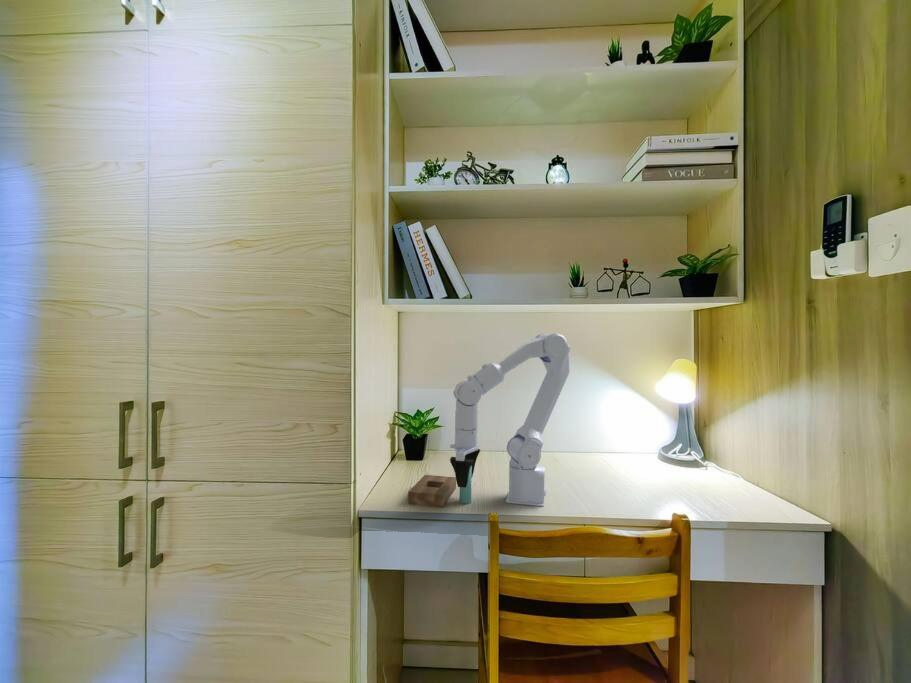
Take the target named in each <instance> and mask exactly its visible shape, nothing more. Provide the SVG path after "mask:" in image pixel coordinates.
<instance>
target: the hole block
mask: <svg viewBox="0 0 911 683" xmlns="http://www.w3.org/2000/svg"><path fill="white" fill-rule="evenodd" d="M456 489H457V481H456V476H447V475H446V476H444V475H432V474H424V475H423V476H422V477H421V478H420V479H419V480H418V481H417V482H416V483H415V484H414V485H413V486H412V487H411V489H409V490H408V492H407V493H408V497H407V500H408V501H407V503H408V504H410V505H416V506H417V505H418V506H427V507H437V508H444V507H445V506H446V504H447V502H448V500H450V498H451V496H452V495H453V494H454V492H455V490H456Z"/></svg>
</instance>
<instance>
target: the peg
mask: <svg viewBox="0 0 911 683" xmlns="http://www.w3.org/2000/svg"><path fill="white" fill-rule="evenodd" d="M472 478H473V476H472V466H471V468H470V471H469V477H468V483H467V486H466V488H464V487H459V494H458V495H459V502H458V503H460V504H462V505H469V504H472Z"/></svg>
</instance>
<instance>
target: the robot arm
mask: <svg viewBox="0 0 911 683" xmlns="http://www.w3.org/2000/svg"><path fill="white" fill-rule="evenodd" d="M570 352H571V346H570V345H569V342H568V340H567V338H566V337H565V336H564V335H562V334H561V333H559V332H558V333H557V332H555V333H554V332H553V333H540V334H537V335H536V336H535V337H534V338H533V337H532V338H530V339H529V340H527V341H526V342H525V343H523V344H522V345H520V346H519V347H518V348H516V349H515V350H513V351H512V352H511V353H510V354H508V355H507V356H506V357H505V358H503V359H501V361H499V362H498V363H494V362H490V363H483V364H482V365H481V369H479V370H478V371H476V372H475V373H473V374H472V375H471V374H468V375H467V376H466V378H467V380H461V381H459V382H458V383H457V384H456V386H455V388H454V390H453V395H454V398H455V399H456V400H455V412H454V413H455V414H454V415H455V416H454V417H455V418H454V443H451V444H450V445H449V448H450V449H453V450H454V452H455V456H451V457H450V458H449V461H450V464H451V466H452V468H453V471H454V474H455V476H454V477H456V487H458V488H460V487H464V488H466V486H467V483H468V477H469V471H470V468H471V466H472V477H473V476H474V472H475V466H476V462H477V459H478V456H479V454H480V452H481V449H480V448H479V445H478V433H479V432H478V425H479V424H478V422H479V421H478V419H479V418H478V417H479V410H478V408H479V406H478V404H479V402H480V400H481V399H482V396H484V395H485V394H487V393H488V392H490V391H491V390H492V389H494V388H496V387H497V386H499V385H500V384H501V383H503V382H504V379H505V375H506V374H507V373H509V372H510V371H512V370H514V369H515V368H517V367H518V366H519V365H522V364H523V363H524V362H527V361H528V360H529V359H533V358H535V359H536V358H539V359H540V360H541V361H542V363H543V365H544V368H545V370H546V374H545V376H544V378H543V380H542V383H541V385H540V388H539V389H538V391H537V394H536V396H535V397H534V400H533V403H532V404H531V406H530V409H529V411H528V414H527V416H526V418H525V421H524V423H523V425H521V426H520V427H519V428H518V429H517V430H516V432H515V434H514V435H513V436H512V437H511V438H510V439H509V440H508V442H507V444H506V452H507V454H508V456H509V457H510V460H509V462H508V467H509V468H508V492H507V495H506V498H505V503H507V504H516V505H525V506H526V505H527V506H535V507H544V506H545V497H547V496H546V493H547V490H546V489H547V488H545V487H546V486H545V484H546V483H545V482H546V475H545V474H546V468H545V466H540V465H538V464H539V463H540V461H541V457H542V448H543V445H544V441H543V440H544V439H543V433H544V431H545V429H546V426H547V424H548V422H549V420H550V417H551V415H552V413H553V411H554V409H555V406H556V404H557V402H558V399H559V398H560V397H559V396H560V395H561V393H562V391H563V388H564V386H565V384H566V381H567V378H568V376H569V374H570V355H569V354H570Z"/></svg>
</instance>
